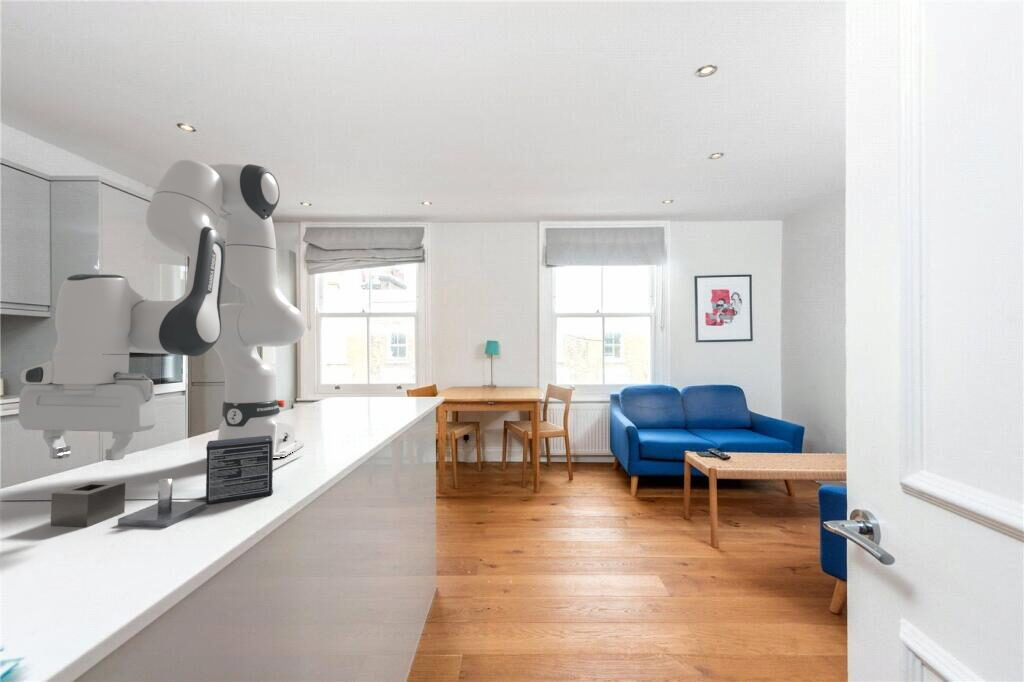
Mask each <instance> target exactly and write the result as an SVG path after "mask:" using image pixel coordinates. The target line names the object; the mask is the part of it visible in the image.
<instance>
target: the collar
mask: <svg viewBox="0 0 1024 682" xmlns="http://www.w3.org/2000/svg"><path fill="white" fill-rule="evenodd" d="M125 496H126V482H125V481H124V482H123V481H96V480H95V481H88V482H84V483H82V484H77V485H75V486H71V487H68V488H64V489H61V490H58V491H54V492H52V493H51V500H50V501H51V502H50V503H51V504H50V505H51V506H50V526H51V527H73V528H74V527H75V528H88V527H91V526H94V525H97V524H98V523H101V522H103V521H107V520H109V519H111V518H113V517H116V516H119V515H122V514H123V513H125V507H126V505H125V504H126V501H125V500H126V499H125V498H126V497H125Z"/></svg>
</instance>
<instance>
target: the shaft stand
mask: <svg viewBox="0 0 1024 682" xmlns="http://www.w3.org/2000/svg"><path fill="white" fill-rule="evenodd" d="M157 483H158V485H157V486H158V487H157V503H155V504H152V505H149V506H146V507H144V508H142V509H138V510H137V511H134V512H132V513H129V514H126V515H124V516H122V517H119V518H118V519H117V526H123V527H125V526H126V527H127V526H128V527H151V528H153V527H154V528H168V527H171V526H173V525H175V524H178V523H179V522H181V521H183V520H186V519H187V518H190V517H191V516H193V515H196V514H198V513H200V512H202V511H204V510H206V509H207V506H208V505H207V502H205V501H204V502H202V501H178V500H177V501H174V500H173V478H172V477H167V478H166V477H165V478H161V479H158V481H157Z"/></svg>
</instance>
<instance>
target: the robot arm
mask: <svg viewBox="0 0 1024 682" xmlns="http://www.w3.org/2000/svg"><path fill="white" fill-rule="evenodd" d="M280 195H281V193H280V187H279V183H278V180H277V179H276V177H275V175H274V174H273V173H272V172H271V171H270V170H269V168H267V167H263V166H261V165H256V164H253V163H252V164H240V163H218V164H206V163H204V162H202V161H198V160H196V159H180V160H177V161H175V162H174V163H173V164H172V165H171V166H170V167H169V168H168V169H167V171H166V172H165V174H164V175H163V176H162V178H161V180H160V181H159V182H158V185H157V186H156V188H155V190H154V193H153V195H152V197H151V200H150V202H149V205H148V207H147V210H146V215H145V222H146V225H147V228H148V230H149V232H150V233H151V235H152V236H153V237H154V238H155V239H156V240H157V241H159V242H160V243H161V244H163V245H164V246H165V247H167V248H169V249H170V250H172V251H173V252H176V253H178V254H181V255H184V256H187V257H188V258H189V264H188V272H187V276H186V277H187V278H186V284H185V285H186V286H185V291H184V294H183V295H182V296H180V297H179V298H178V299H175V300H149V298H146V297H145V296H143V295H141V294H139V293H138V292H136V291H135V290H134V289H133V288H132V286H130V283H129V280H128V278H127V277H125V276H122V275H118V274H91V273H90V274H85V273H83V274H81V273H80V274H79V273H77V274H72V275H70V276H68V277H66V278H65V280H63V282H62V284H61V286H60V288H59V293H58V295H57V301H56V308H55V316H54V317H55V318H54V326H55V327H54V328H55V330H56V332H57V343H56V346H55V347H54V349H53V354H52V360H49V361H46V362H44V363H41V364H39V365H36V366H35V365H34V366H31V367H29V368H26V369H23V370H22V371H21V373H20V382H21V383H23V384H25V385H24V387H23V388H22V389H21V391H20V395H19V402H18V423H19V425H20V426H21V427H22V428H23V430H26V431H27V430H28V431H29V430H30V431H43V435H42V436H43V439H44V442H45V443H46V444H47V446H48V448H49V458H50V459H53V460H55V459H56V460H57V459H58V460H61V459H62V460H63V459H67V458H69V457H70V455H71V445H67V444H66V442H65V439H64V436H66V433H67V432H105V433H107V432H108V433H109V432H110V433H112V436H111V437H112V440H114V442H113V444H112V445H111V447H110V448H107V449H105V457H104V459H105V460H106V461H121V460H124V458H125V456H126V448H127V447H128V445H129V443H130V442H131V441H132V439H133V437H134V433H138V432H145V431H151V430H152V429H153V428H154V426H155V425H156V424H157V421H158V412H157V400H156V394H155V391H154V388H155V387H154V386H155V385H154V381H153V380H152V379H151V378H150V377H149V376H147V375H146V373H143V372H137V373H130V372H129V365H130V353H136V354H138V353H141V354H142V353H143V354H162V355H163V354H165V355H166V354H168V355H169V354H171V355H177V356H186V357H199V356H201V355H204V354H206V353H207V352H208V351H209V350H211V348H213V349H214V350H215V352H216V354H217V355H218V357H219V360H220V362H221V364H222V368H223V372H224V373H223V374H224V401H223V402H222V407H221V412H222V413H221V416H222V417H223V420H222V422H221V423H220V424H219V428H218V434H217V435H218V436H217V440H225V439H236V438H247V437H258V436H269V435H270V436H271V437H272V440H273V457H282V456H286V455H288V454H290V453H291V454H293V453H295V452H296V451H298V450H300V449H301V448H302V447H305V443H304V442H303V441H301V440H300V441H299V440H295V436H296V435H295V427H294V425H293V424H292V423H291V422H290V421H288V420H287V419H286V418H285V417H283V416H282V415H281V414H280V413H281V410H280V408H285V406H286V401H285V399H276V398H277V397H276V392H277V389H276V386H277V373H276V370H275V368H274V367H273V366H272V365H271V364H270V363H268V362H266V361H264V360H263V359H262V358H261V357H260V355H259V352H258V347H269V348H270V347H271V348H272V347H273V348H274V347H282V346H288V345H294V344H296V343H298V342H299V341H300V340H301V339H302V338H303V336H304V333H305V329H306V321H305V318H304V316H303V314H302V312H301V311H300V309H299V308H297V307H296V306H294V305H293V304H292V303H291V302H290V301H289V300H288V298H287V297H286V296H285V294H284V293H283V290H282V288H281V285H280V282H279V277H278V269H277V268H278V266H277V265H278V264H277V240H276V233H275V225H274V222H273V218H272V215H273V213H274V211H275V209H276V208H277V206H278V204H279V201H280ZM220 215H225V217H226V219H227V222H226V230H225V241H224V239H223V237H222V236H221V234H220V233H219V232H218V231H217V224H218V221H219V218H220ZM224 271H225V272H224ZM224 273H225V276H226V278H227V279H228V281H229V282H230V283H231V284H233V285H234V286H236V287H237V288H239V289H241V290H242V292H243V293H244V294H245V296H246V297H245V298H246V302H247V303H234V302H233V303H232V302H231V303H222V304H221V299H222V289H223V282H224V281H223V279H224ZM294 451H295V452H294ZM292 452H293V453H292ZM291 454H290V455H291ZM288 456H289V455H288Z"/></svg>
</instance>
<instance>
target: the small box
mask: <svg viewBox="0 0 1024 682" xmlns="http://www.w3.org/2000/svg"><path fill="white" fill-rule="evenodd" d="M205 448H206V449H205V450H206V469H205V470H206V471H205V472H206V475H205V476H206V478H205V480H206V483H205V501H204V502H207V506H209V505H214V504H221V503H227V502H234V501H239V500H241V501H242V500H247V499H253V498H260V497H266V496H267V497H268V496H272V495H273V494H274V489H273V475H274V474H273V472H274V471H273V470H274V469H273V464H274V463H273V462H274V461H273V460H274V459H273V440H272V437H271V436H270V435H269V436H258V437H247V438H236V439H225V440H218V439H216V440H215V439H214V440H208V442H207V444H206V447H205Z"/></svg>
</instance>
